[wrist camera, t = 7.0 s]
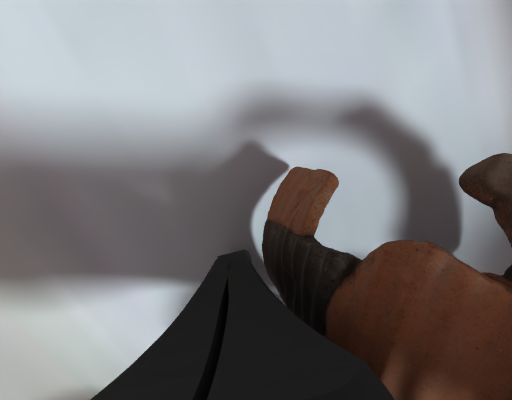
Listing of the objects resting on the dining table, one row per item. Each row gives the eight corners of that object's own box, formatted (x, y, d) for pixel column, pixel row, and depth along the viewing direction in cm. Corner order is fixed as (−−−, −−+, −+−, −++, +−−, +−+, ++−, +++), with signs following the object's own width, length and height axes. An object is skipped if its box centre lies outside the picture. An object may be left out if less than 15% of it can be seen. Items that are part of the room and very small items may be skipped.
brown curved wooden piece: (301, 71, 9) (884, 13, 3) (412, 164, 15) (675, 214, 9) (175, 391, 10) (389, 908, 4) (326, 359, 16) (507, 533, 10)
